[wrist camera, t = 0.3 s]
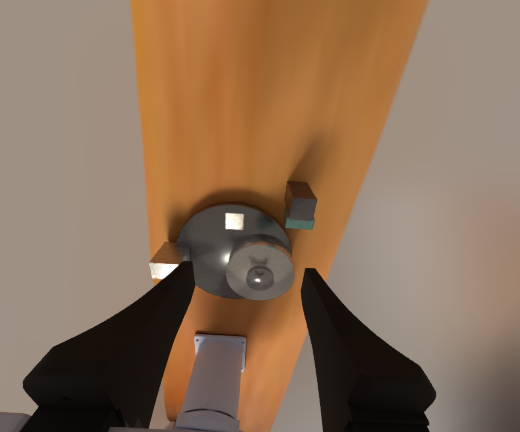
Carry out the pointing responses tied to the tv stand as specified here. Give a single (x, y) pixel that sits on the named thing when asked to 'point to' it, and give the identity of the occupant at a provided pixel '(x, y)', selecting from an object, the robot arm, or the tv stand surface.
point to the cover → (260, 267)
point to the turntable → (214, 244)
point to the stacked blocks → (299, 206)
